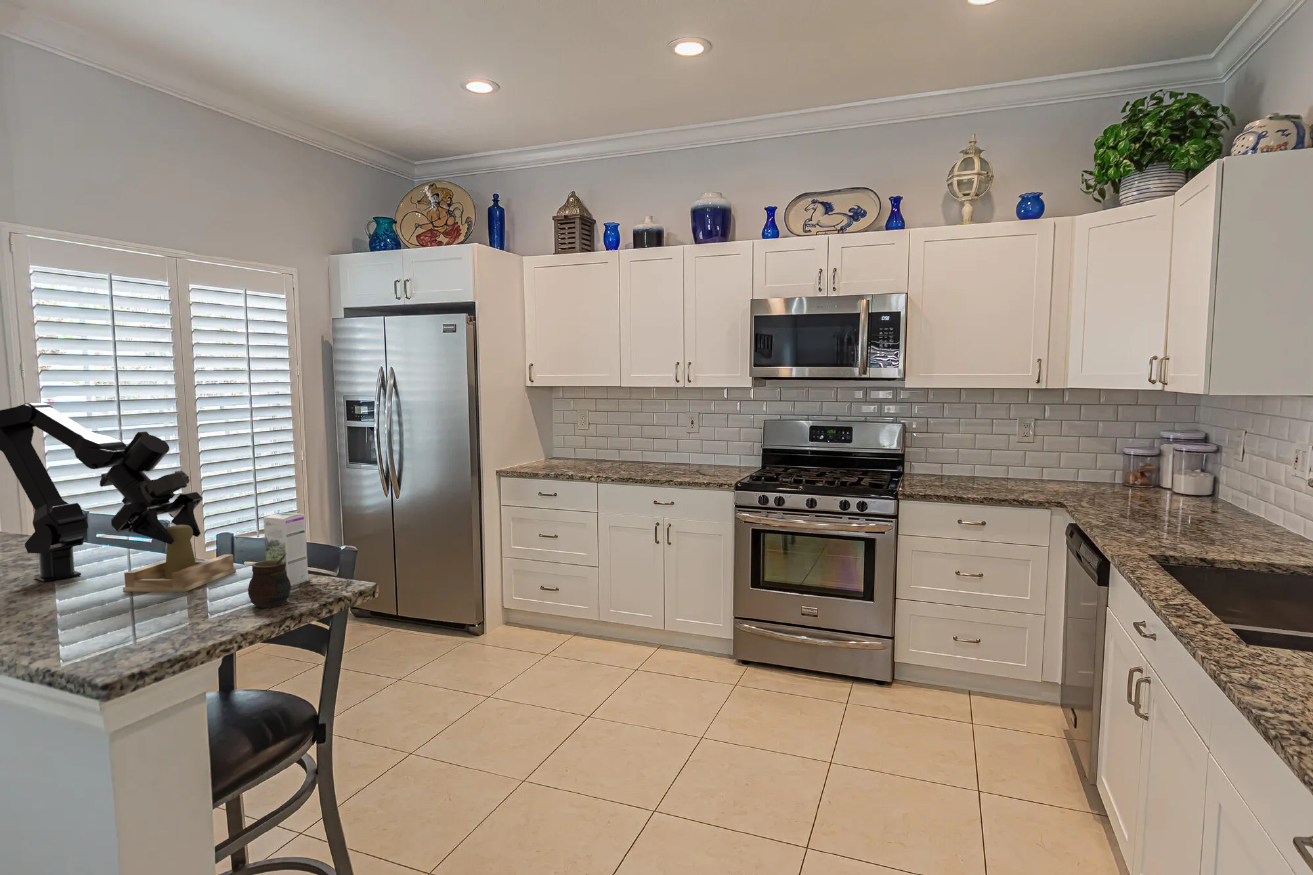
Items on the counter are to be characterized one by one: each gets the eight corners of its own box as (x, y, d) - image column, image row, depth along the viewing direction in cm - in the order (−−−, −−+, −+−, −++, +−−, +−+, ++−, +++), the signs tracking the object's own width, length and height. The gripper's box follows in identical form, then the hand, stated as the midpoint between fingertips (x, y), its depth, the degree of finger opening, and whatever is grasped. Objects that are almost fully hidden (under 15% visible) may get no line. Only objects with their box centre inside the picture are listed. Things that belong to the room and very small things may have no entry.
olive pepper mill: (193, 578, 150) (190, 526, 149) (160, 581, 148) (156, 529, 147) (201, 571, 155) (198, 521, 155) (169, 575, 154) (165, 524, 153)
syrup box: (309, 580, 151) (306, 512, 150) (286, 587, 146) (283, 517, 145) (288, 578, 153) (285, 511, 152) (265, 585, 148) (262, 516, 147)
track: (179, 570, 160) (179, 554, 160) (236, 571, 159) (235, 554, 159) (123, 591, 144) (121, 572, 144) (185, 591, 143) (184, 573, 143)
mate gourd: (264, 598, 139) (263, 547, 138) (301, 599, 138) (300, 548, 137) (239, 609, 131) (237, 556, 131) (277, 611, 131) (276, 557, 130)
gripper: (120, 464, 141) (174, 521, 141) (192, 455, 160) (240, 505, 159) (87, 503, 143) (140, 559, 142) (162, 490, 161) (209, 539, 161)
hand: (186, 538), depth 151 cm, fingers open, 7 cm apart
